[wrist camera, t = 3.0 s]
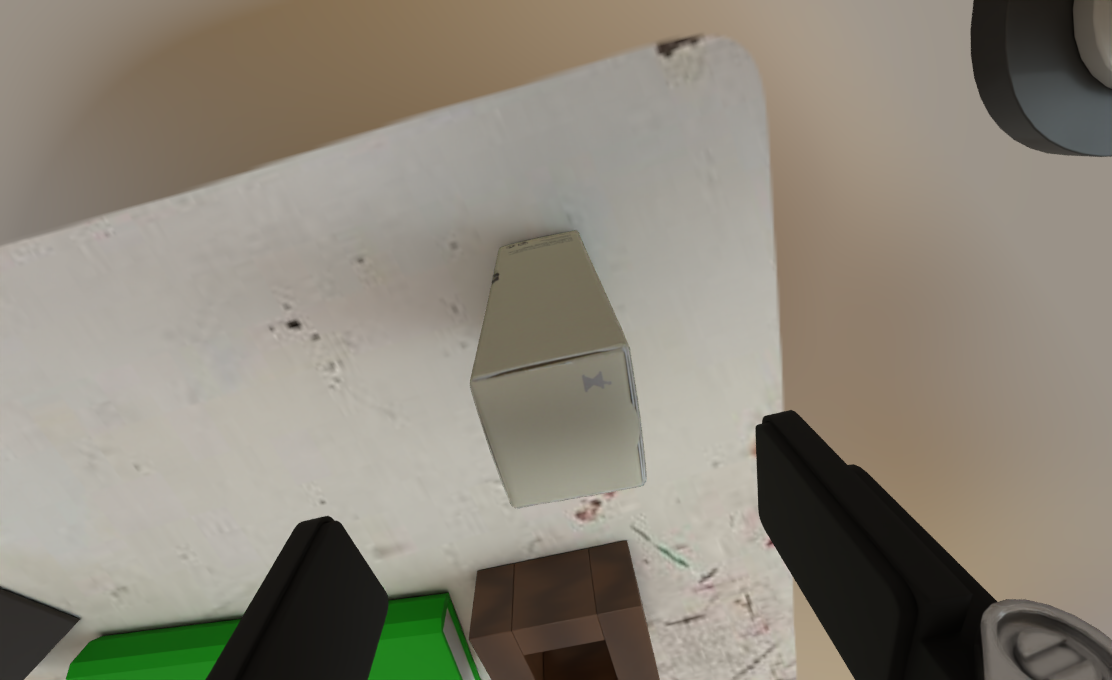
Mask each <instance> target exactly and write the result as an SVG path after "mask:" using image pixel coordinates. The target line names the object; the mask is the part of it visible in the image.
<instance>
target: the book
mask: <svg viewBox="0 0 1112 680" xmlns="http://www.w3.org/2000/svg"><path fill="white" fill-rule="evenodd" d="M388 601H389V606H388V612H387V616H386V619H385V623H384V626H383V629H382V633H381V636H380V640H379V643H378V647H377V650H376V654H375V657H374V660H373V664H372V667H371V671H370V674H369V678H368V680H481V679H480V677H479V674H478V671H477V669H476V666H475V663H474V661H473V658H472V655H471V652H470V650H469V647H468V644H467V642H466V639H465V636H464V633H463V631H462V628H461V625H460V623H459V620H458V617H457V615H456V612H455V609H454V606H453V604H452V601H451V598H450V596H449V593H444V594H436V595H428V596H420V597H412V598H404V599H396V600H388ZM240 620H241V619H235V620H227V621H219V622H211V623H203V624H195V625H187V626H179V627H171V628H163V629H155V630H147V631H139V632H131V633H123V634H115V635H107V636H101V637H99V638H97V639H95V640H92V641H90V642H89V643H88V644H87V645H86V646H85V648H84V649H83V650H82V651H81V652H80V653H79V655H78V656H77V657H76V658H75V659H74V660H73V661H72V663H71V664H70V667H69V670H68V673H67V677H66V680H206V678H207V676H208V674H209V673H210V671H211V669H212V668H213V666H214V664H215V663H216V661H217V659H218V658H219V656H220V654H221V652H222V651H223V649H224V647H225V646H226V644H227V642H228V641H229V639H230V637H231V635H232V634H233V632H234V630H235V629H236V627H237V625H238V624H239V622H240Z"/></svg>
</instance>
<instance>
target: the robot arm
mask: <svg viewBox="0 0 1112 680" xmlns="http://www.w3.org/2000/svg"><path fill="white" fill-rule="evenodd" d="M1073 19H1074V36H1075V40H1076V43H1077V46H1078V50H1079V53H1080V56H1081V59H1082V61H1083V62H1084V64H1085V65H1086V67H1087V68H1088V70H1089V71H1090V73H1091V74H1092V76H1094V77H1095V78H1096V79H1097V80H1099V81H1100V82H1101V83H1103V84H1104V85H1105V86H1106V87H1108V88H1111V89H1112V0H1074V5H1073ZM756 456H757V483H758V510H759V516H760V520H761V523H762V525H763V527H764V529H765V531H766V533H767V534H768V536H769V538H770V539H771V541H772V543H773V544H774V546H775V548H776V549H777V551H778V553H779V554H780V556H781V558H782V559H783V561H784V563H785V564H786V566H787V567H788V569H789V571H790V572H791V574H792V576H793V577H794V579H795V581H796V582H797V584H798V585H799V587H800V589H801V591H802V592H803V594H804V596H805V597H806V599H807V601H808V602H809V604H810V606H811V607H812V609H813V610H814V612H815V614H816V616H817V617H818V619H819V621H820V622H821V624H822V625H823V627H824V629H825V630H826V632H827V634H828V635H829V637H830V639H831V640H832V642H833V644H834V645H835V647H836V649H837V650H838V652H839V654H840V655H841V657H842V659H843V660H844V662H845V664H846V665H847V667H848V669H849V670H850V672H851V674H852V675H853V677H854V679H855V680H1112V640H1111V639H1110V638H1109V637H1108V636H1106V635H1105V634H1104V633H1102V632H1101V631H1100V630H1098V629H1097V628H1095V627H1093V626H1091V625H1090V624H1088V623H1087V622H1085V621H1083V620H1081V619H1080V618H1078V617H1076V616H1075V615H1072V614H1070V613H1067V612H1065V611H1063V610H1060V609H1058V608H1055V607H1053V606H1050V605H1047V604H1043V603H1038V602H1034V601H1030V600H1016V599H1006V600H1003V601H1000V602H997V601H996V600H995V599H994V598H993V597H992V596H991V595H990V594H989V593H988V592H987V591H986V590H985V589H984V588H983V587H982V586H981V585H980V584H979V583H978V582H977V581H976V580H975V579H974V578H973V577H972V576H971V575H970V574H969V573H968V572H967V571H966V570H965V569H964V568H963V567H962V566H961V565H960V564H959V563H958V562H957V561H956V560H955V559H954V558H953V557H952V556H951V555H950V554H949V553H948V552H946V550H945V549H944V548H943V547H942V546H941V545H940V544H939V543H938V542H936V540H935V539H934V538H933V537H931V535H930V534H928V533H927V531H925V529H923V528H922V527H921V526H920V525H919V524H918V523H917V522H916V521H915V520H914V519H913V518H912V517H911V516H910V515H909V514H908V513H907V512H906V511H905V510H904V509H903V508H902V507H901V506H900V505H899V504H898V503H897V502H896V501H895V500H894V499H893V498H892V497H891V496H890V495H889V494H888V493H887V492H886V491H885V490H884V489H883V488H882V487H881V486H880V485H879V484H878V483H877V482H876V481H875V480H874V479H873V478H872V477H871V476H870V475H869V474H868V473H867V472H865V471H864V470H863V469H862V468H861V467H859V466H856V465H847V464H846V463H845V462H844V461H843V460H842V459H841V458H840V457H839V456H838V455H837V454H836V453H835V452H834V451H833V450H832V449H831V448H830V447H829V446H828V445H827V444H826V442H824V440H823V439H821V437H820V436H819V435H818V434H817V433H816V432H815V431H814V430H813V429H812V428H811V427H810V426H809V425H808V424H807V423H806V422H805V421H804V420H803V419H802V418H801V417H800V416H799V415H798V414H797V413H796V412H795V411H792V410H789V411H785V412H780V413H776V414H771V415H767V416H764V417H763V420H762V424H759V425H757V426H756ZM388 606H389V601H388V595H387V593H386V591H385V590H384V588H383V587H382V585H381V584H380V582H379V581H378V579H377V578H376V576H375V575H374V573H373V571H372V570H371V568H370V567H369V565H368V564H367V562H366V561H365V559H364V558H363V556H362V555H361V553H360V552H359V550H358V549H357V547H356V545H355V544H354V542H353V541H352V539H351V538H350V536H349V535H348V533H347V532H346V530H345V529H344V527H343V526H342V524H341V523H340V522H338V521H334V520H333V519H332V518H331V517H329V516H325V517H320V518H316V519H311V520H307V521H303V522H301V523H299V524H298V525H297V526H296V527H295V529H294V530H293V532H292V534H291V535H290V537H289V539H288V540H287V542H286V544H285V545H284V547H283V549H282V551H281V552H280V554H279V556H278V557H277V559H276V561H275V562H274V564H273V566H272V568H271V569H270V571H269V573H268V574H267V576H266V578H265V579H264V581H263V583H262V585H261V586H260V588H259V590H258V591H257V593H256V595H255V596H254V598H253V600H252V601H251V603H250V605H249V607H248V608H247V610H246V612H245V613H244V615H243V617H242V618H241V620H240V622H239V624H238V625H237V627H236V629H235V630H234V632H233V634H232V635H231V637H230V639H229V641H228V642H227V644H226V646H225V647H224V649H223V651H222V652H221V654H220V656H219V658H218V659H217V661H216V663H215V664H214V666H213V668H212V669H211V671H210V673H209V674H208V676H207V678H206V680H368V678H369V674H370V671H371V667H372V664H373V660H374V657H375V654H376V650H377V647H378V643H379V640H380V636H381V633H382V629H383V626H384V623H385V619H386V616H387V612H388Z"/></svg>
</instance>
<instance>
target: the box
mask: <svg viewBox="0 0 1112 680" xmlns="http://www.w3.org/2000/svg"><path fill="white" fill-rule="evenodd" d="M470 388H471V392H472V395H473V399H474V402H475V406H476V409H477V412H478V415H479V418H480V421H481V424H482V427H483V430H484V433H485V437H486V440H487V443H488V446H489V449H490V452H491V454H492V457H493V460H494V463H495V465H496V468H497V471H498V474H499V476H500V479H501V482H502V484H503V487H504V489H505V491H506V494H507V496H508V498H509V501H510V504H511V506H512V507H514V508H523V507H528V506H533V505H538V504H544V503H550V502H556V501H564V500H568V499H574V498H580V497H587V496H593V495H598V494H603V493H609V492H614V491H620V490H625V489H630V488H636V487H641V486H643V485H644V484H645V482H646V463H645V454H644V444H643V435H642V427H641V419H640V412H639V405H638V398H637V391H636V385H635V379H634V373H633V366H632V360H631V354H630V347H629V345H628V343H627V340H626V338H625V336H624V333H623V331H622V328H621V326H620V324H619V322H618V320H617V318H616V315H615V313H614V311H613V308H612V306H611V304H610V302H609V300H608V297H607V295H606V293H605V291H604V288H603V286H602V284H601V282H600V280H599V278H598V275H597V273H596V271H595V269H594V266H593V264H592V262H591V260H590V258H589V256H588V253H587V251H586V249H585V247H584V244H583V242H582V240H581V237H580V235H579V232H578V231H576V230H575V231H570V232H565V233H560V234H555V235H550V236H545V237H541V238H537V239H532V240H528V241H523V242H519V243H515V244H511V245H507V246H503V247H501V248H500V249H499V251H498V256H497V260H496V265H495V269H494V275H493V279H492V284H491V288H490V293H489V297H488V302H487V307H486V312H485V316H484V321H483V325H482V330H481V334H480V339H479V344H478V348H477V353H476V357H475V361H474V366H473V370H472V375H471V379H470Z"/></svg>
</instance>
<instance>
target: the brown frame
mask: <svg viewBox="0 0 1112 680" xmlns="http://www.w3.org/2000/svg"><path fill="white" fill-rule="evenodd" d="M469 641H470V643H471V644H472V646H473V648H474V650H475V651H476V653H477V655H478V657H479V658H480V660H481V662H482V664H483V665H484V667H485V669H486V671H487V673H488V674H489V676H490V678H491V680H660V679H659V674H658V670H657V666H656V661H655V657H654V653H653V648H652V644H651V640H650V635H649V631H648V627H647V622H646V618H645V614H644V610H643V606H642V602H641V597H640V593H639V589H638V585H637V581H636V576H635V572H634V568H633V564H632V560H631V555H630V551H629V547H628V543H627V541H622V542H617V543H612V544H607V545H602V546H597V547H592V548H589V549H583V550H578V551H573V552H568V553H563V554H558V555H553V556H548V557H543V558H539V559H534V560H529V561H524V562H519V563H515V564H510V565H505V566H500V567H495V568H490V569H485V570H480V571H477V578H476V586H475V593H474V601H473V609H472V617H471V625H470V633H469Z"/></svg>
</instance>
